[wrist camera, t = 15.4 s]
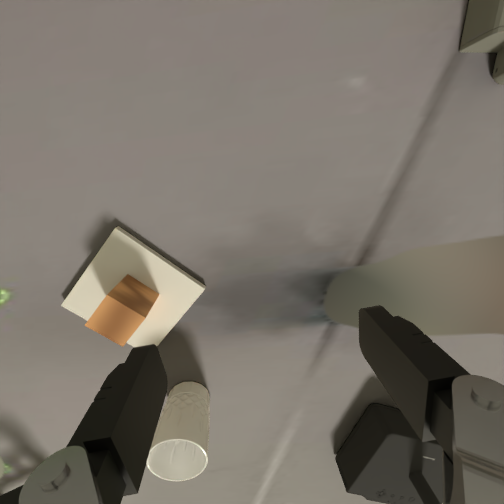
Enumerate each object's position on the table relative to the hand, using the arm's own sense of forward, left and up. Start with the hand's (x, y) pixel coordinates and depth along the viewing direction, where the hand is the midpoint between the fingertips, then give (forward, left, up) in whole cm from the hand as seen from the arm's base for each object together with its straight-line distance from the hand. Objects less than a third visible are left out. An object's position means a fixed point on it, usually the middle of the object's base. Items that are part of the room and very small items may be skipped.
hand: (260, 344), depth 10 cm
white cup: (+12, -29, -26) cm, 41 cm away
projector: (+50, -16, -26) cm, 59 cm away
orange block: (-5, -18, -25) cm, 31 cm away
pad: (-5, -18, -26) cm, 32 cm away
